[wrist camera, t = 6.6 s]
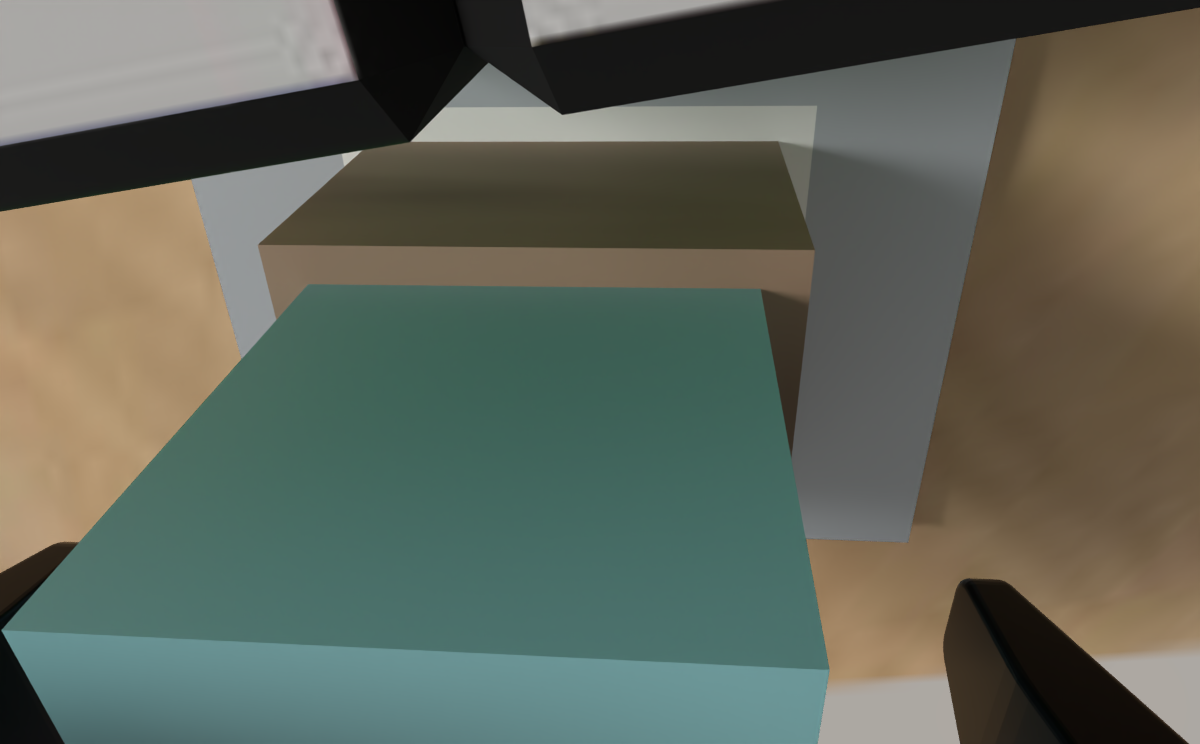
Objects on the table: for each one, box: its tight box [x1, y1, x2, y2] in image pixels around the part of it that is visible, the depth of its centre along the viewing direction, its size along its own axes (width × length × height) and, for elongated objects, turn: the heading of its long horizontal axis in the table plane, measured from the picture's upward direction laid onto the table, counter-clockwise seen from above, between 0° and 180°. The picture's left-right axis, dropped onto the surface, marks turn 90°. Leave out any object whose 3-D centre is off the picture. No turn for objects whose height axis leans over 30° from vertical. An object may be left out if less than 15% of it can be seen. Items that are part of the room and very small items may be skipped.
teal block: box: [2, 284, 829, 744], centre depth 8 cm, size 5×5×5 cm
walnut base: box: [258, 141, 815, 459], centre depth 12 cm, size 6×6×4 cm
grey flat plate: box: [191, 39, 1016, 543], centre depth 14 cm, size 9×12×1 cm
